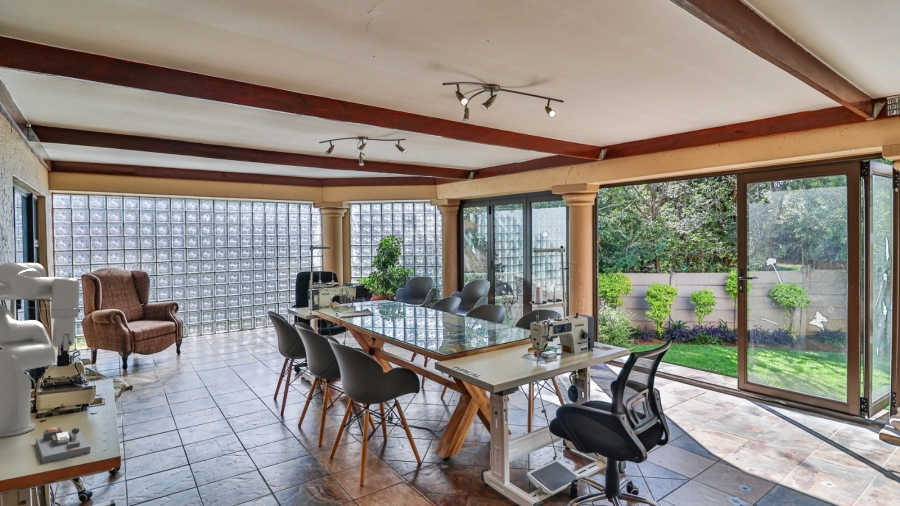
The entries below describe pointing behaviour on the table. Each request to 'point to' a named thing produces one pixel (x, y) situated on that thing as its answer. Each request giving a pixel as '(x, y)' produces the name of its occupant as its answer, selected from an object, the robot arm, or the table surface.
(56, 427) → the push button
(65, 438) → the rocker
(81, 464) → the table surface
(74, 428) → the toggle lever
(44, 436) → the switch panel
